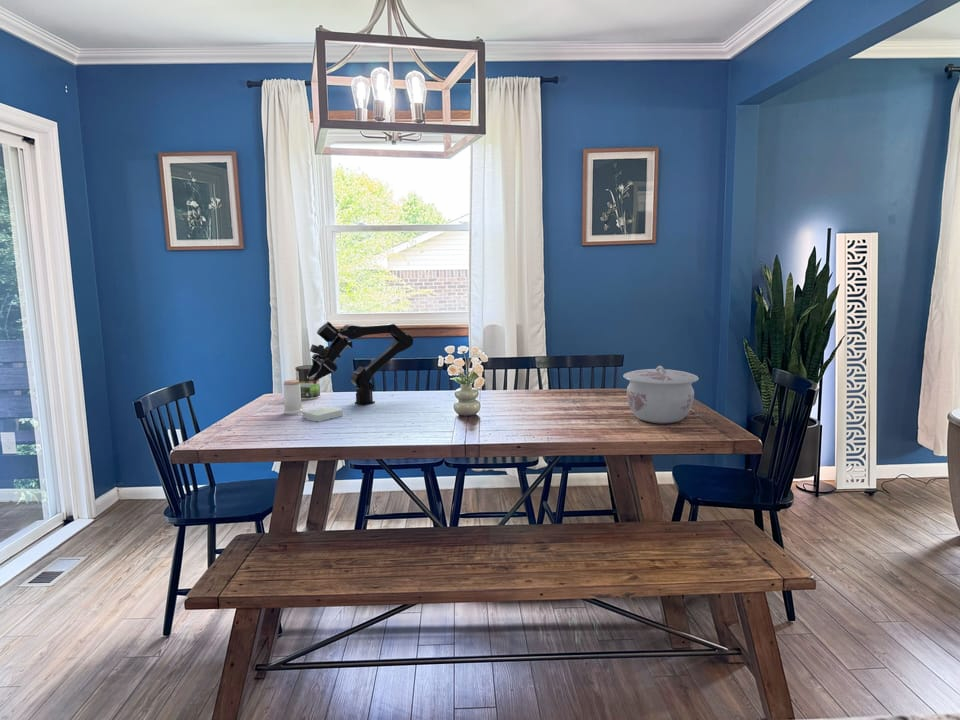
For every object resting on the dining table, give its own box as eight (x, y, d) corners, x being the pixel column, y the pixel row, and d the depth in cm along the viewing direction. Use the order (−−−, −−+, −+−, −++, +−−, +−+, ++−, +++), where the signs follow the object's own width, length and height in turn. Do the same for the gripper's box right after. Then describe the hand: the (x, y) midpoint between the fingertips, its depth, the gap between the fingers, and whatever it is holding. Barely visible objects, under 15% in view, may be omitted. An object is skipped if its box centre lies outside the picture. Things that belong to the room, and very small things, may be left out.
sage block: (327, 412, 260) (327, 406, 259) (343, 415, 253) (342, 409, 253) (302, 417, 251) (302, 411, 250) (317, 421, 244) (317, 415, 244)
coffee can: (325, 396, 290) (323, 366, 288) (306, 400, 282) (304, 369, 279) (310, 394, 296) (309, 364, 294) (292, 398, 288) (290, 367, 286)
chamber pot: (675, 433, 222) (677, 374, 218) (608, 420, 240) (609, 366, 237) (710, 418, 241) (712, 364, 238) (645, 407, 260) (647, 357, 257)
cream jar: (296, 409, 265) (294, 378, 263) (306, 412, 261) (304, 381, 259) (280, 412, 260) (278, 381, 258) (290, 415, 255) (288, 383, 253)
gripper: (314, 334, 270) (290, 363, 266) (327, 339, 254) (302, 369, 250) (334, 351, 275) (310, 379, 272) (347, 356, 259) (323, 386, 256)
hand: (311, 378), depth 262 cm, fingers open, 9 cm apart
